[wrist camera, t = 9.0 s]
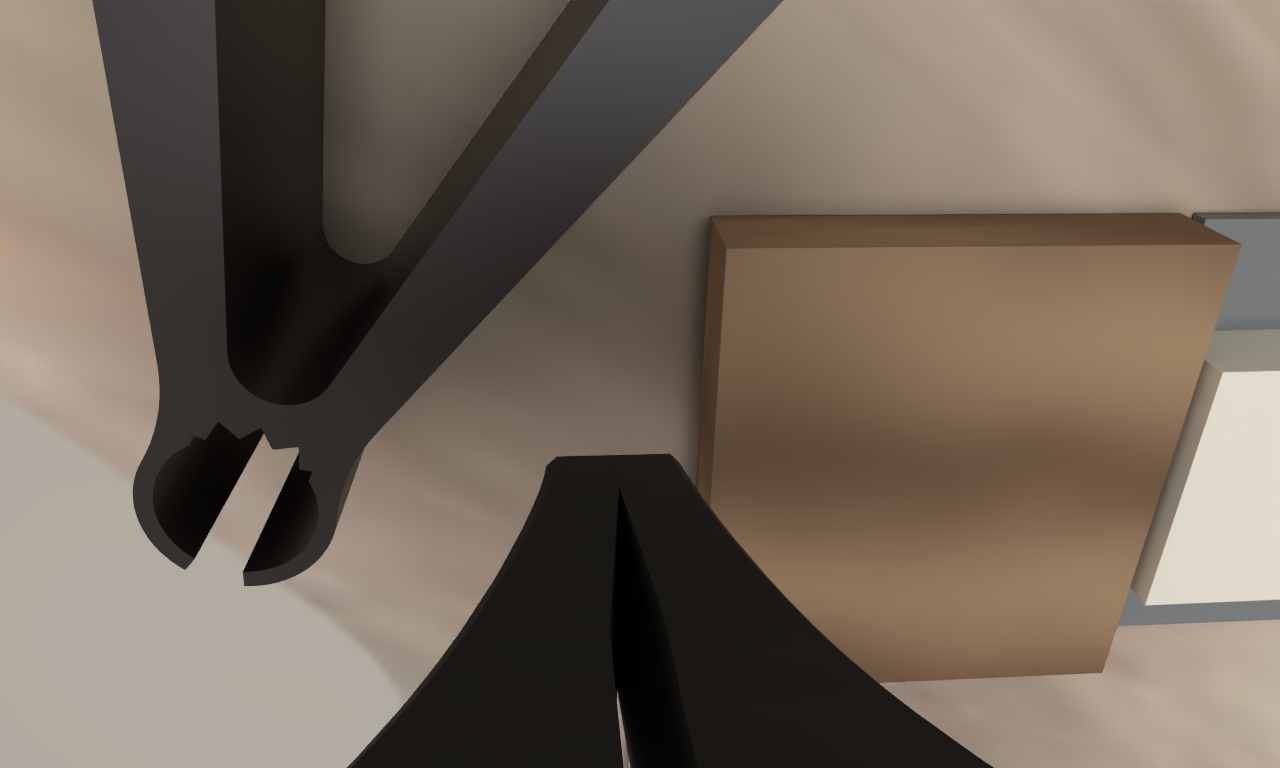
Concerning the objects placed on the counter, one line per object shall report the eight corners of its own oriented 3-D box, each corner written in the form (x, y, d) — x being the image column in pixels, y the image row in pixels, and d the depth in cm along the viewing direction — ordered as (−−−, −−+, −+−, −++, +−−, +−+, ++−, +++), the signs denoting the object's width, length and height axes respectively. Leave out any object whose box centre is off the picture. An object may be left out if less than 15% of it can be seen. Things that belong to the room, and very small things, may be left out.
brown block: (1063, 617, 25) (1102, 672, 23) (688, 632, 24) (698, 690, 22) (1180, 213, 20) (1242, 244, 18) (711, 216, 19) (726, 249, 17)
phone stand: (823, -56, 11) (484, 651, 16) (736, -72, 17) (501, 463, 21) (21, -473, 9) (-99, 495, 14) (217, -336, 14) (81, 329, 19)
